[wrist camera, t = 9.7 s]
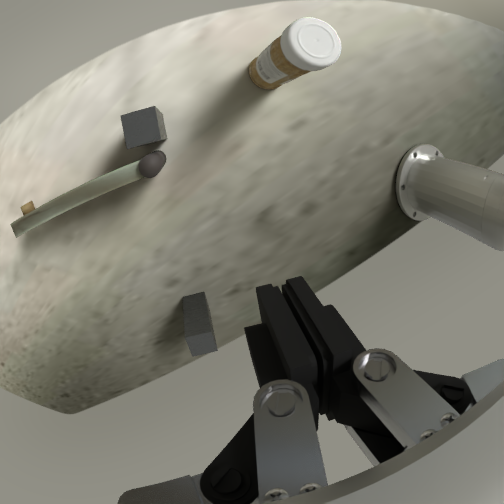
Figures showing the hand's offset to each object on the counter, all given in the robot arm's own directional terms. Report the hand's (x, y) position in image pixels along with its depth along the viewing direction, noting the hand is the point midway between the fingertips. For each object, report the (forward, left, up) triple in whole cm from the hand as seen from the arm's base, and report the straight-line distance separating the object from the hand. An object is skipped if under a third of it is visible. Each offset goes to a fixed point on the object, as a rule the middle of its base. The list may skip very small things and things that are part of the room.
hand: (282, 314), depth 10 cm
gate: (+13, -4, -24) cm, 28 cm away
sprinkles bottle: (-9, -13, -25) cm, 29 cm away
